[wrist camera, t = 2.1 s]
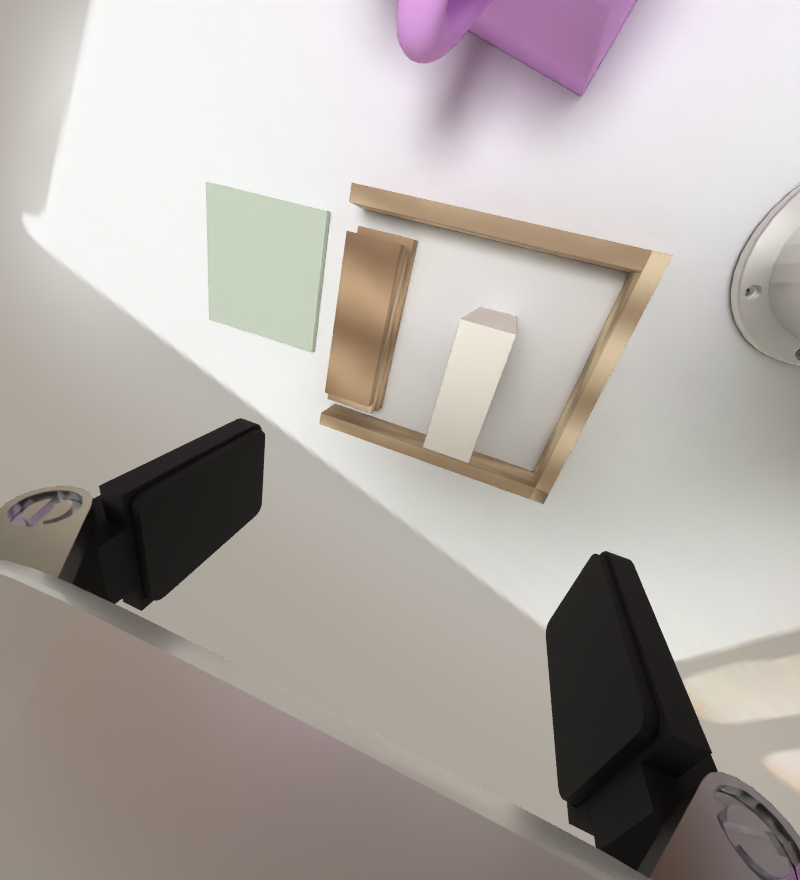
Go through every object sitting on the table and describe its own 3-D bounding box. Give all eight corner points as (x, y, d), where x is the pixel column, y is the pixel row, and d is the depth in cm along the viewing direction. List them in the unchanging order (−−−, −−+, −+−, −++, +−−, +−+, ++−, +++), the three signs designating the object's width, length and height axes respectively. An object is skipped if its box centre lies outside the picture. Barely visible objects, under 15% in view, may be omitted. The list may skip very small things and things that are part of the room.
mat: (211, 183, 32) (206, 181, 31) (330, 212, 30) (327, 211, 29) (213, 318, 37) (209, 319, 37) (314, 351, 35) (311, 352, 35)
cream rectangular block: (481, 306, 29) (460, 319, 19) (516, 316, 29) (516, 334, 18) (453, 395, 33) (422, 447, 22) (484, 405, 32) (468, 462, 22)
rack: (367, 192, 28) (351, 182, 26) (656, 258, 25) (672, 255, 22) (333, 414, 38) (319, 423, 35) (541, 486, 34) (543, 503, 31)
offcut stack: (363, 227, 30) (345, 221, 26) (417, 241, 29) (405, 235, 26) (338, 392, 36) (321, 403, 33) (381, 407, 36) (368, 419, 32)
